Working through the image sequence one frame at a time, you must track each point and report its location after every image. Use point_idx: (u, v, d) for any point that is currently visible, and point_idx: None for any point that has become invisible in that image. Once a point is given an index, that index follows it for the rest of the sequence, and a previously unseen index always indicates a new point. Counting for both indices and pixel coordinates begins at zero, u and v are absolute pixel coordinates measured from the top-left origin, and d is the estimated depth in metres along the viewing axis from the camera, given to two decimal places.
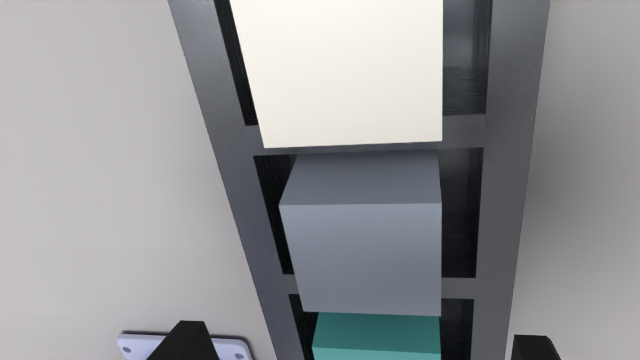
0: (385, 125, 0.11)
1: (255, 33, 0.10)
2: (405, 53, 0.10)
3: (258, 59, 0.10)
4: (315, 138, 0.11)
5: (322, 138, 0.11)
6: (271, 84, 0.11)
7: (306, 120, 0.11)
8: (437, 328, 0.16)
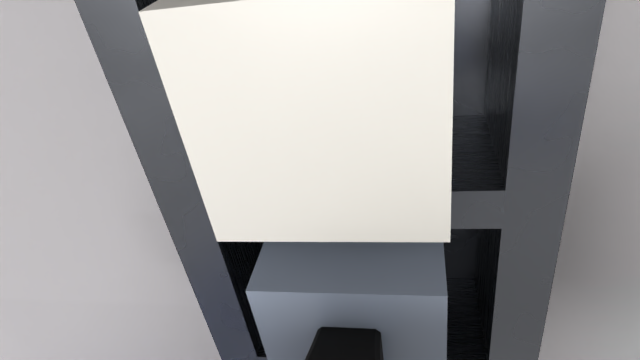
0: (374, 221, 0.08)
1: (194, 104, 0.07)
2: (400, 135, 0.07)
3: (200, 136, 0.07)
4: (282, 233, 0.08)
5: (291, 233, 0.08)
6: (220, 167, 0.08)
7: (269, 211, 0.08)
8: None
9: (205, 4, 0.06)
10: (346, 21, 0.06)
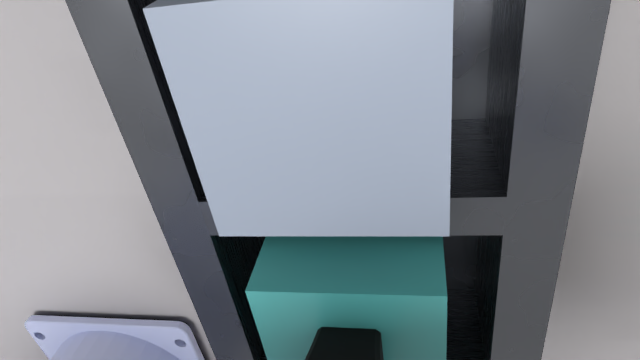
0: None
1: None
2: None
3: None
4: None
5: None
6: None
7: None
8: (441, 261, 0.10)
9: None
10: None
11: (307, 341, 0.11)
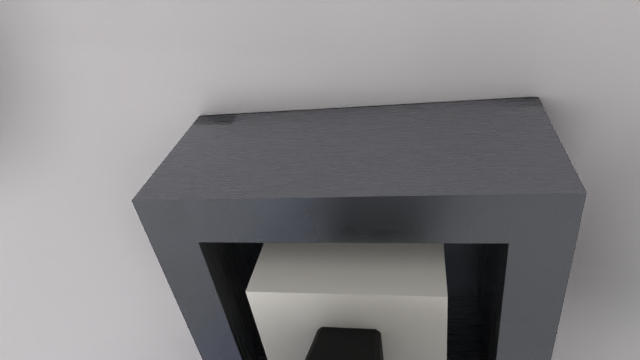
0: None
1: (275, 334, 0.11)
2: None
3: (277, 350, 0.11)
4: None
5: None
6: None
7: None
8: None
9: (290, 292, 0.10)
10: (379, 308, 0.10)
11: None
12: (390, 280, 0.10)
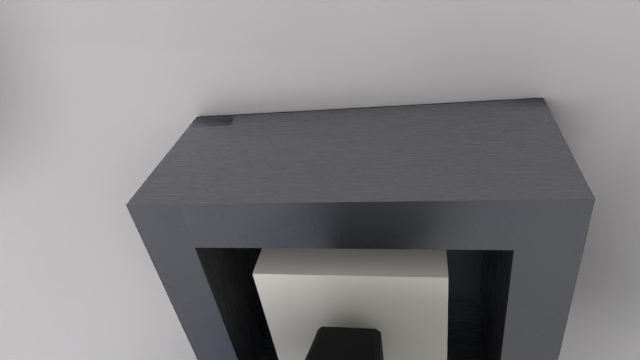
0: None
1: (281, 316, 0.11)
2: (414, 342, 0.11)
3: (282, 332, 0.11)
4: None
5: None
6: (294, 347, 0.12)
7: None
8: None
9: (295, 273, 0.10)
10: (382, 289, 0.10)
11: None
12: (392, 262, 0.10)
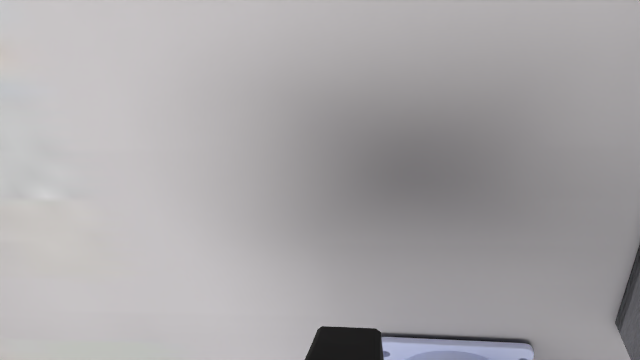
0: None
1: None
2: None
3: None
4: None
5: None
6: None
7: None
8: None
9: None
10: None
11: None
12: None
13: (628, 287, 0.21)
